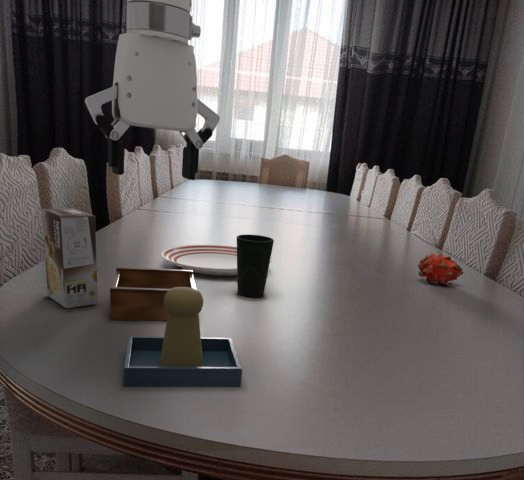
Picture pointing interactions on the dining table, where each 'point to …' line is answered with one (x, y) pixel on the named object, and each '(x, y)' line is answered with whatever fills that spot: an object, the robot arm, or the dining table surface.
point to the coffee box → (70, 256)
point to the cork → (182, 328)
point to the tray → (152, 374)
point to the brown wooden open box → (145, 292)
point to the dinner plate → (204, 258)
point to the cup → (253, 264)
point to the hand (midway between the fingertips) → (154, 176)
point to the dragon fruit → (439, 269)
